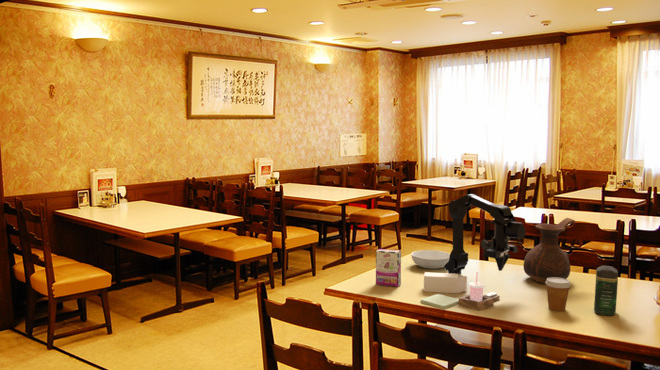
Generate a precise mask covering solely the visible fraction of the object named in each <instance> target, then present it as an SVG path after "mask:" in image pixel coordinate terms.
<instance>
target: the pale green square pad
mask: <svg viewBox="0 0 660 370" xmlns="http://www.w3.org/2000/svg"><path fill="white" fill-rule="evenodd" d="M420 303H423V304H425V305H427V306H428V305H429V306H432V307H435V308H439V309H443V310H445V309H448V308H450V307H453V306H456V305H459V298H455V297H451V296H447V295H443V294H440V293H436V294H432V295H430V296H428V297H424V298H421V299H420Z"/></svg>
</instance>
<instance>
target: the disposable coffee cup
mask: <svg viewBox="0 0 660 370" xmlns="http://www.w3.org/2000/svg"><path fill="white" fill-rule="evenodd" d="M544 284H545V285H546V295H547V304H548V307H547V308H548V309H549V310H550V311H554V312H564V311H566V306H567V301H568V297H569V291H570V287H571V281H570V280H569V279H568V278H567V279H564V278H557V277H551V278H547V280H546V282H545V283H544Z"/></svg>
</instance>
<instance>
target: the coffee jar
mask: <svg viewBox="0 0 660 370" xmlns="http://www.w3.org/2000/svg"><path fill="white" fill-rule="evenodd" d="M595 272H596V273H595V288H594V303H593V304H594V305H593V311H594V312H595V314H599V315H601V316H606V315H607V316H614V315H616V313H617V312H616V311H617V298H618V282H619V271H618V270H617V268H615V267H614V266H612V265H611V266H610V265H602V264H601V266H599V267H597V268H596V270H595Z"/></svg>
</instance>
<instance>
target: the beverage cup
mask: <svg viewBox="0 0 660 370" xmlns="http://www.w3.org/2000/svg"><path fill="white" fill-rule="evenodd" d="M468 286H469V294H470V300H474V301H477V302H480V301H483V300H482V298H483V295H484V288H485V283H483V282H479V281H478V271H476V275H475V282H474V281H473V282H471V281H470V282H469V283H468Z"/></svg>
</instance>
